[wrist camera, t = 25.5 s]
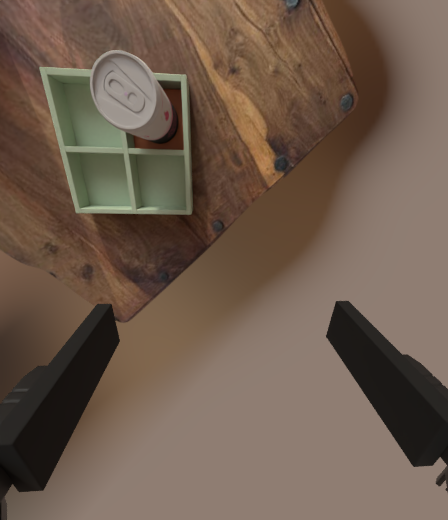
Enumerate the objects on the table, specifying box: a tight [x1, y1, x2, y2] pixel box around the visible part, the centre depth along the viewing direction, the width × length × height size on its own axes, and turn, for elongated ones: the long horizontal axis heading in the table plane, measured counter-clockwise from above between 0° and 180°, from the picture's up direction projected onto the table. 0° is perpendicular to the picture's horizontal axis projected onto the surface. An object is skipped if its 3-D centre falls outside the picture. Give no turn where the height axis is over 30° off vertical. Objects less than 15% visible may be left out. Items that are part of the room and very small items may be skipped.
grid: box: [39, 67, 193, 215], centre depth 35 cm, size 19×19×4 cm
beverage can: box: [90, 50, 178, 144], centre depth 28 cm, size 7×7×15 cm
